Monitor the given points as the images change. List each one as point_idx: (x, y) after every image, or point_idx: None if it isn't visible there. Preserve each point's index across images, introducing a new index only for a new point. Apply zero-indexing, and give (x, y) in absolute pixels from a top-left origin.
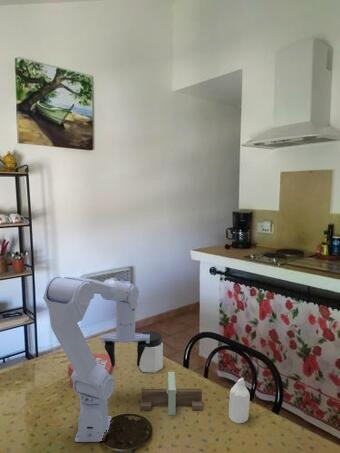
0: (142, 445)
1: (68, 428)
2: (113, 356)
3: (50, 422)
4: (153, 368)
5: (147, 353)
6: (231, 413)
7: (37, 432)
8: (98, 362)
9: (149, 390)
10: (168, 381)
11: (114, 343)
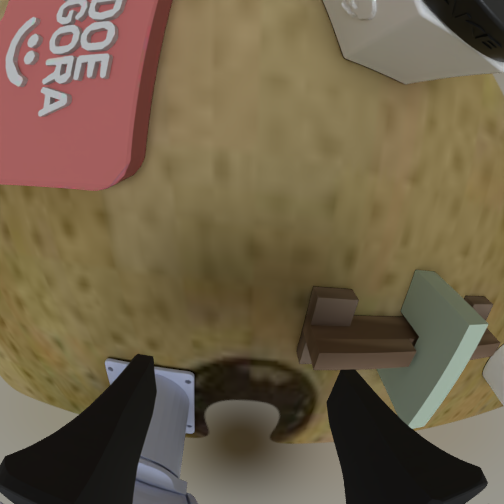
0: (280, 439)
1: (86, 379)
2: (135, 444)
3: (35, 349)
4: (409, 79)
5: (428, 47)
6: (490, 381)
7: (31, 371)
8: (75, 18)
9: (350, 362)
10: (432, 390)
11: (94, 490)
